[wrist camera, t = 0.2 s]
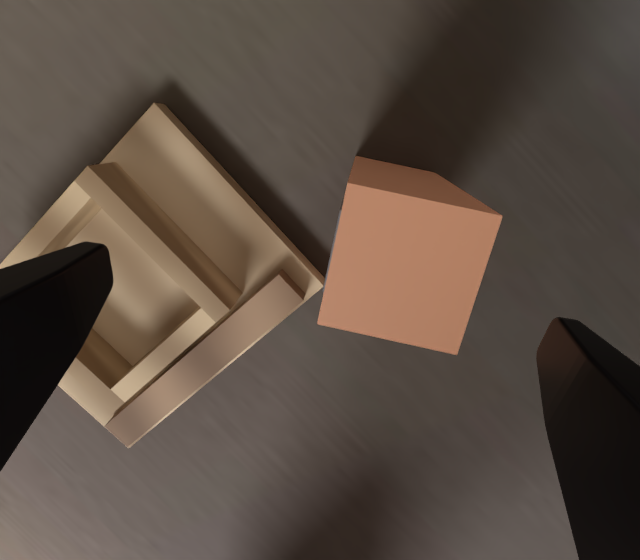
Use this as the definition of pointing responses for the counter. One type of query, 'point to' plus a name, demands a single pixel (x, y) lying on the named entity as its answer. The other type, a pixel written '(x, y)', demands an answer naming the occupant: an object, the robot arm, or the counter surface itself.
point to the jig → (168, 273)
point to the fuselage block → (406, 256)
